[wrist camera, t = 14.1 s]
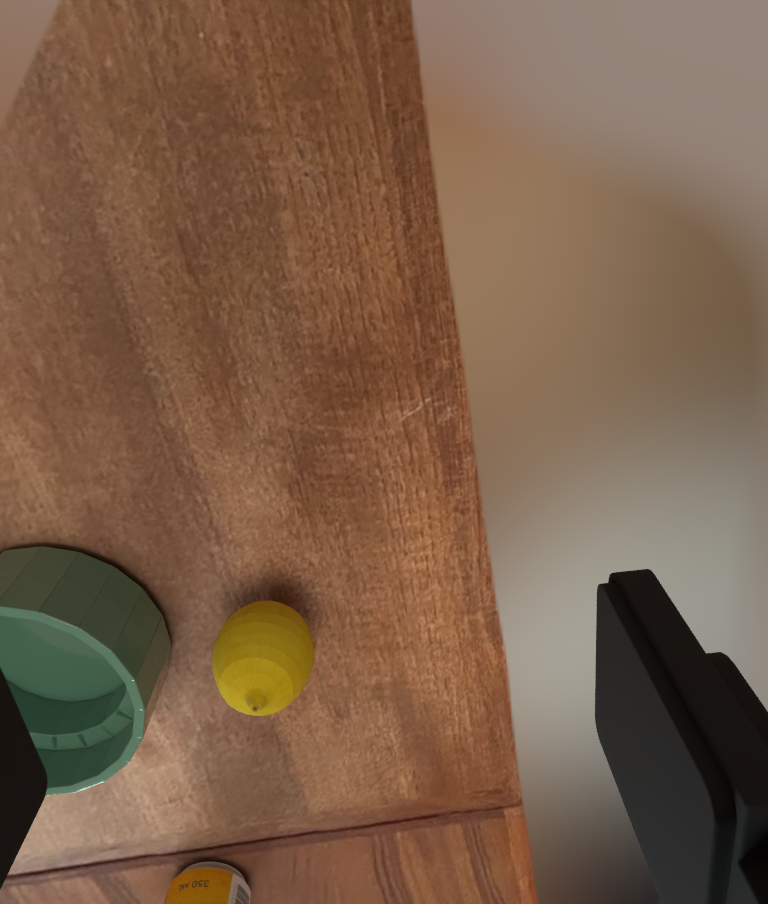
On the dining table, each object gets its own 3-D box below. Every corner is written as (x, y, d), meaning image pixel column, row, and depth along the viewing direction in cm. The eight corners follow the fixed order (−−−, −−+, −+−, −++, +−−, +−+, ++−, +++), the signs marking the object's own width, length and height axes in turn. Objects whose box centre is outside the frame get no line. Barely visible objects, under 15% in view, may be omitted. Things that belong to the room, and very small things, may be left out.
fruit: (249, 559, 41) (223, 651, 33) (334, 595, 42) (327, 691, 35) (212, 627, 43) (180, 728, 35) (294, 660, 44) (280, 764, 37)
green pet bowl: (-85, 555, 40) (-156, 621, 35) (141, 530, 40) (105, 593, 34) (-6, 726, 46) (-57, 806, 40) (193, 705, 45) (170, 783, 40)
